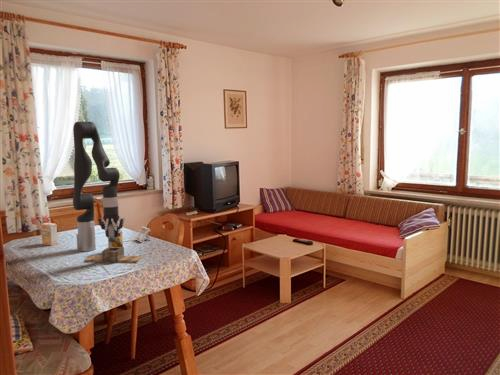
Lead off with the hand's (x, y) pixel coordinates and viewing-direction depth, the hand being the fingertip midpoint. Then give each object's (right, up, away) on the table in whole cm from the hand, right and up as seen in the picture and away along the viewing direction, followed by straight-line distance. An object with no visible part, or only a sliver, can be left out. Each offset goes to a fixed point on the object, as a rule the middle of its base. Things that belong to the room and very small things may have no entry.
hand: (112, 236), depth 207 cm
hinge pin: (0, -2, 0) cm, 2 cm away
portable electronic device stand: (+5, -8, +41) cm, 42 cm away
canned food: (-4, -11, +17) cm, 21 cm away
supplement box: (-51, -9, +34) cm, 62 cm away
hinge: (0, -13, +2) cm, 13 cm away
